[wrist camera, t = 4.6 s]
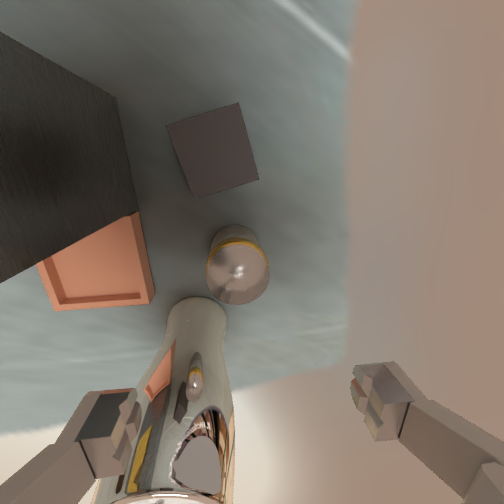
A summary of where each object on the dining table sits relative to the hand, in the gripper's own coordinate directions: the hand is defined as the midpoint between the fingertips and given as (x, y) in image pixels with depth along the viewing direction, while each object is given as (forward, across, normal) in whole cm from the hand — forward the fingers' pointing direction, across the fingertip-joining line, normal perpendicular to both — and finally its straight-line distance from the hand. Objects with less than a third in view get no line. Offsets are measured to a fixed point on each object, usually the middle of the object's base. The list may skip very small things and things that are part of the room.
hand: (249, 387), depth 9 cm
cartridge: (+14, 0, -1) cm, 14 cm away
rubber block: (+14, +1, -9) cm, 17 cm away
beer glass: (+14, +4, +7) cm, 17 cm away
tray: (+14, +12, 0) cm, 19 cm away
